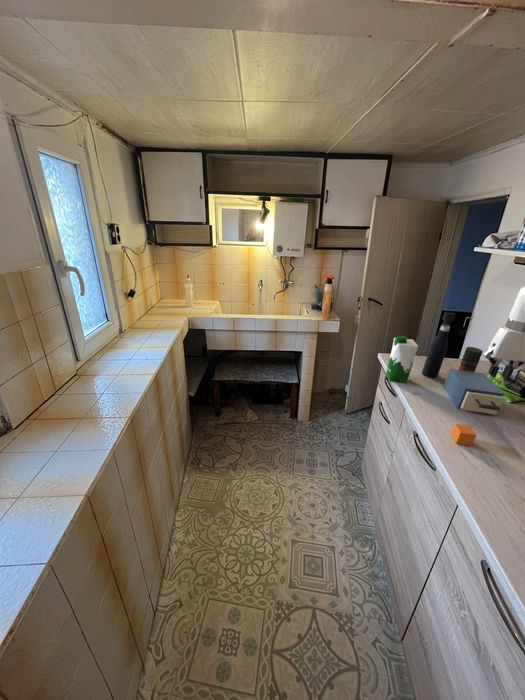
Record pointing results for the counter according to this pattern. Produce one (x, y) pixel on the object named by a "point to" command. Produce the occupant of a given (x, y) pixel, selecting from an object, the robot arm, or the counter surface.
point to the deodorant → (470, 359)
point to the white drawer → (481, 402)
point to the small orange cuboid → (463, 434)
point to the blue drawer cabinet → (468, 385)
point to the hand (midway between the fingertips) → (498, 376)
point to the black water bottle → (438, 348)
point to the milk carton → (401, 359)
